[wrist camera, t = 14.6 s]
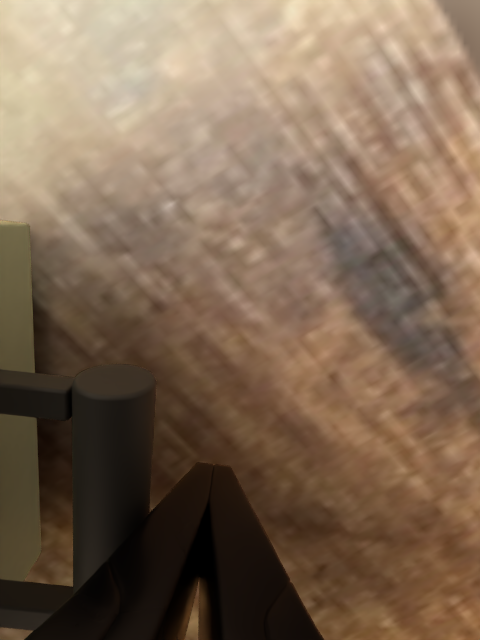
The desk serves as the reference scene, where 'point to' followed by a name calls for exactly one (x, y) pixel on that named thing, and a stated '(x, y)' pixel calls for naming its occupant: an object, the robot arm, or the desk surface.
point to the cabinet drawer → (87, 449)
